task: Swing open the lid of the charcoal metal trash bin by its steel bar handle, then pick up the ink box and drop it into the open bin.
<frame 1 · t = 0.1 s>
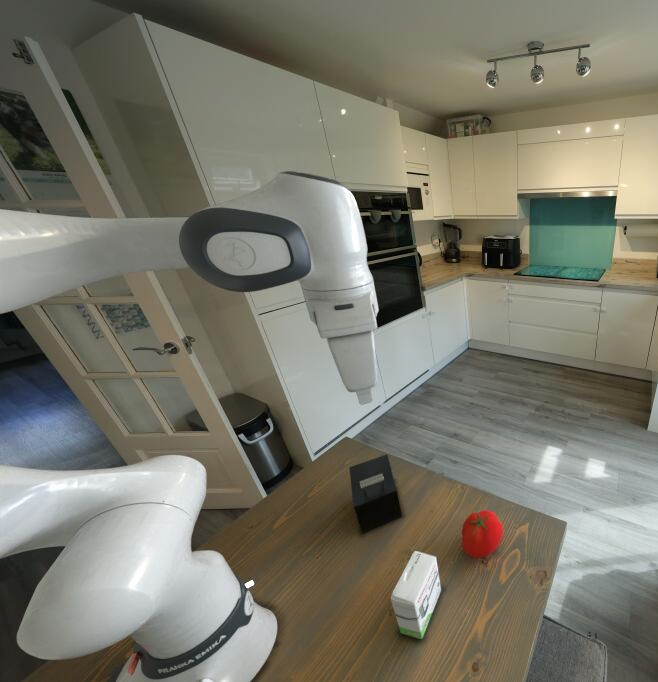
hand: (362, 386, 50), 48 cm above the table, tool pointing down, fingers open, 8 cm apart
trash bin: (379, 505, 83), on the table
ink box: (421, 610, 62), on the table
tomato: (482, 545, 74), on the table
bin lid: (370, 473, 78), point 12 cm above the table, hinge at 0.0°
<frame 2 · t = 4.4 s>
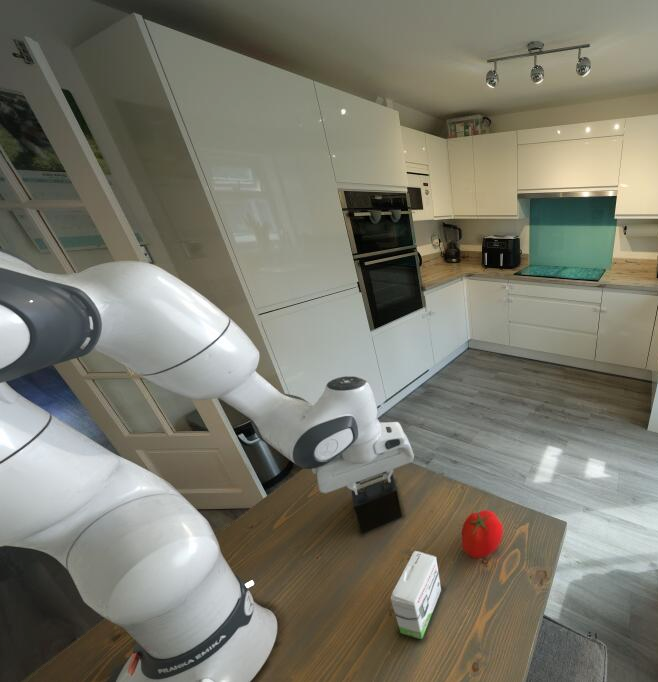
hand: (373, 486, 75), 12 cm above the table, tool pointing down, fingers closed on bin lid, 5 cm apart
bin lid: (370, 473, 78), point 12 cm above the table, hinge at 0.0°, touching gripper
everything else where it was.
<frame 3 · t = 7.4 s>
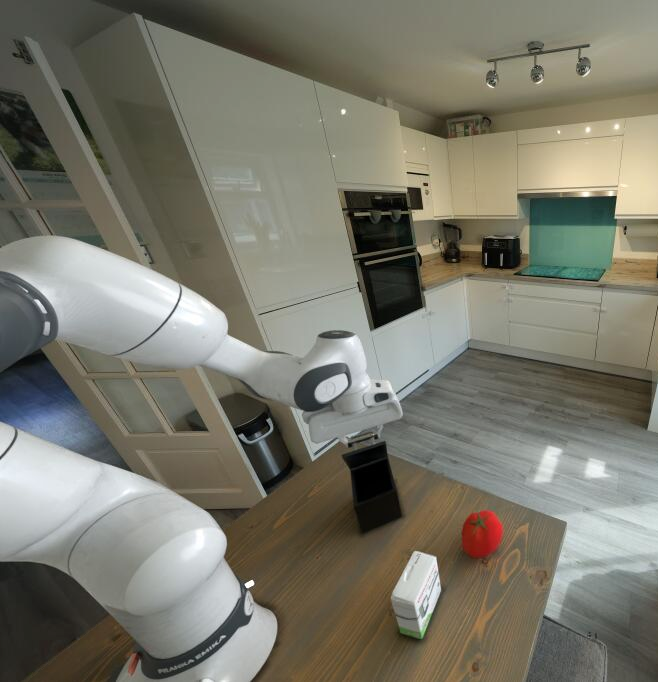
hand: (363, 441, 78), 20 cm above the table, tool pointing down, fingers closed on bin lid, 5 cm apart
bin lid: (365, 447, 80), point 17 cm above the table, hinge at 54.8°, touching gripper
everything else where it was.
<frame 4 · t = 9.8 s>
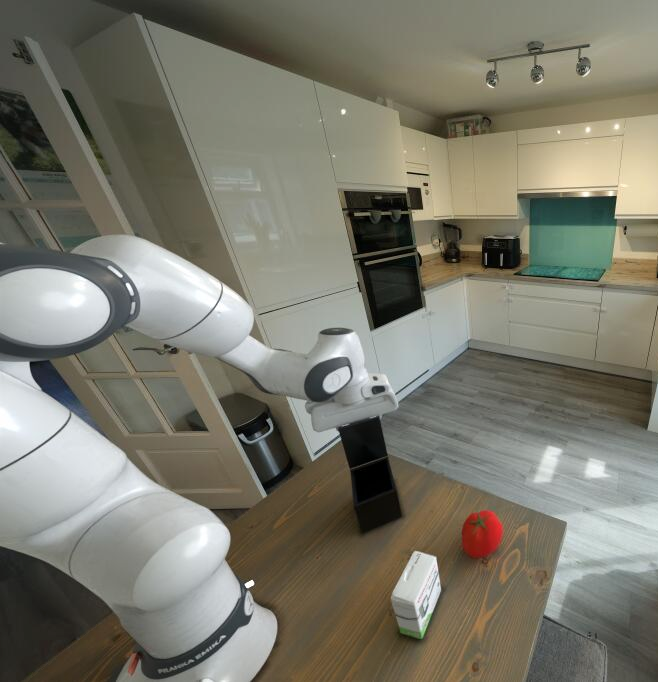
hand: (362, 431, 83), 18 cm above the table, tool pointing down, fingers open, 6 cm apart
bin lid: (363, 437, 83), point 17 cm above the table, hinge at 89.7°
everything else where it was.
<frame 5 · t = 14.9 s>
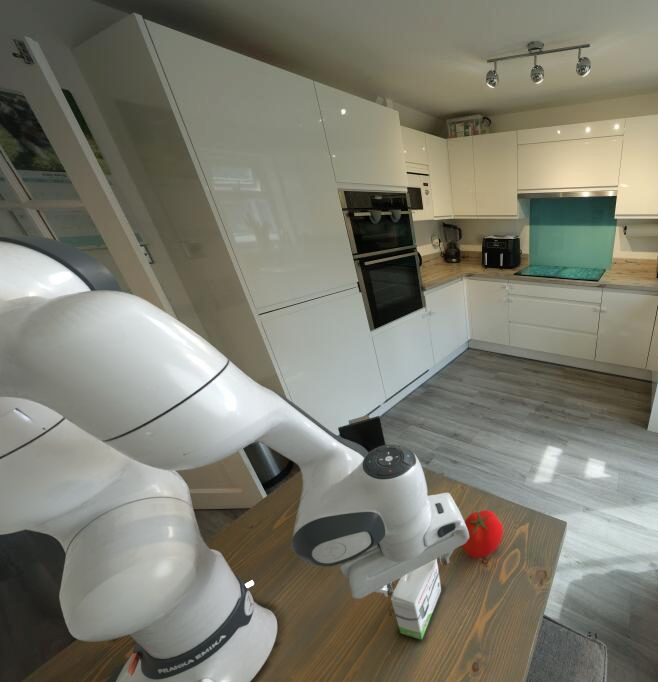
hand: (418, 575, 58), 11 cm above the table, tool pointing down, fingers open, 8 cm apart
ink box: (421, 610, 62), on the table, touching gripper
everything else where it was.
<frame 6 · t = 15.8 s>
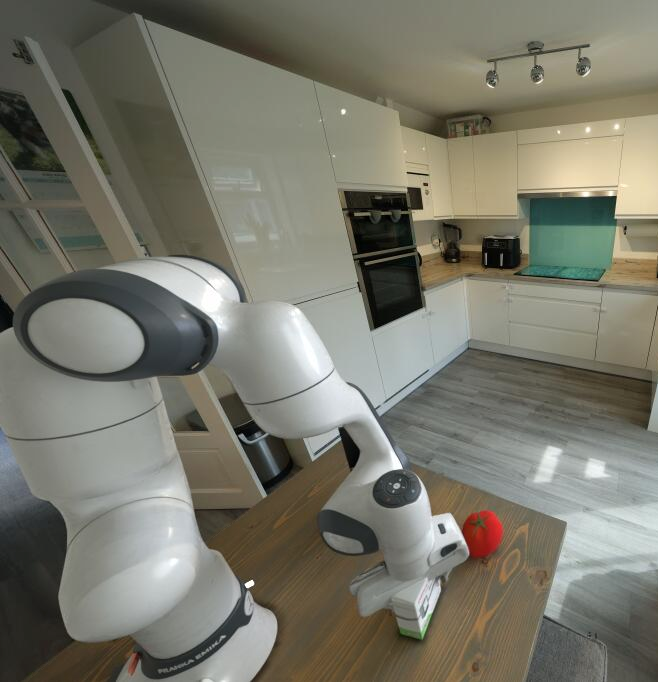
hand: (420, 592, 61), 5 cm above the table, tool pointing down
ink box: (421, 611, 62), on the table, touching gripper
everything else where it was.
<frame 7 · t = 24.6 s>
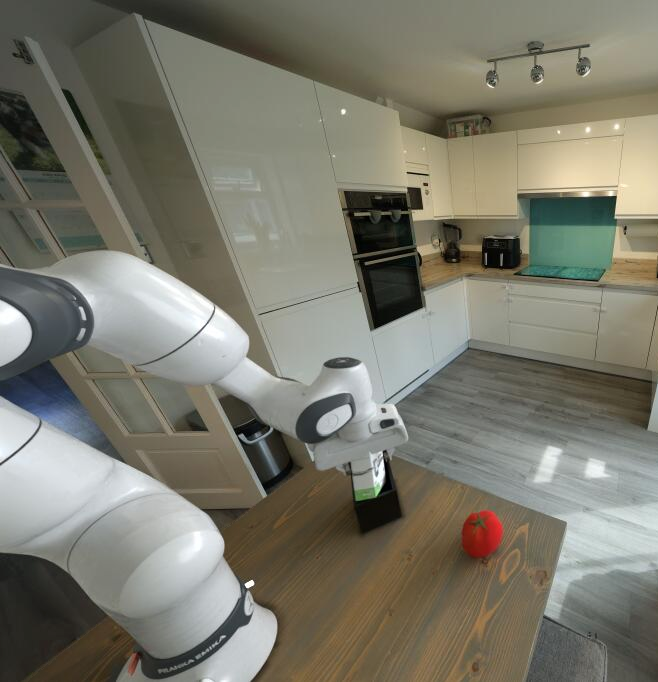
hand: (368, 466, 77), 15 cm above the table, tool pointing down, fingers open, 8 cm apart
ink box: (371, 492, 77), point 9 cm above the table, touching bin lid, trash bin
bin lid: (363, 437, 83), point 17 cm above the table, hinge at 93.8°, touching ink box
everything else where it was.
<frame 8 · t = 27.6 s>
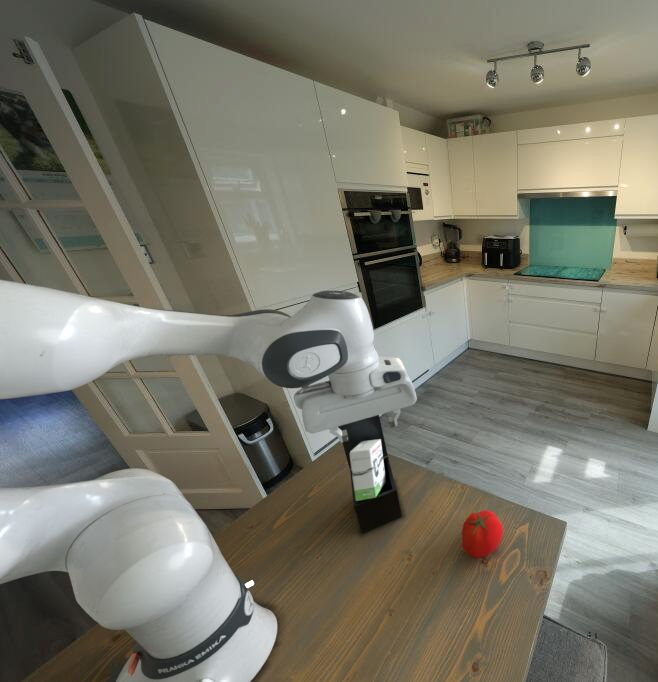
hand: (369, 432, 64), 31 cm above the table, tool pointing down, fingers open, 8 cm apart
nothing on the table moved.
at the end: bin lid at +94° (first picture: +0°); ink box inside the target area in the trash bin (2.8 cm from its centre), point 8.5 cm above the trash bin's base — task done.
